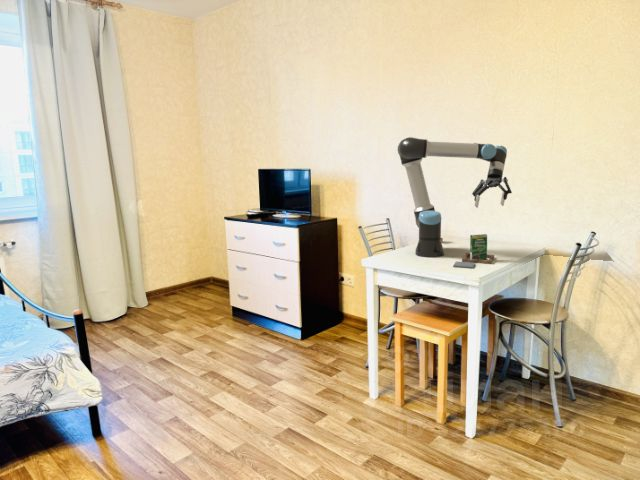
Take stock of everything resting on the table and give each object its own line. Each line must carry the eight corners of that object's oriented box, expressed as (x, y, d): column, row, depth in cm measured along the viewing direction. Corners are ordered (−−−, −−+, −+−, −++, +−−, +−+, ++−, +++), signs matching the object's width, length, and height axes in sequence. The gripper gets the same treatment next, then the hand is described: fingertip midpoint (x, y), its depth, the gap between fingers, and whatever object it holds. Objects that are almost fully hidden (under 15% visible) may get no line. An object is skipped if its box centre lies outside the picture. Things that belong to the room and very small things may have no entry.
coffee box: (471, 260, 225) (472, 235, 222) (469, 259, 228) (470, 234, 225) (487, 260, 225) (488, 234, 222) (485, 259, 228) (486, 234, 225)
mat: (453, 267, 213) (453, 265, 213) (455, 263, 221) (456, 261, 221) (472, 268, 209) (472, 266, 209) (474, 264, 217) (474, 262, 217)
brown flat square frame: (461, 262, 223) (462, 259, 222) (465, 255, 236) (465, 253, 236) (491, 264, 217) (491, 261, 216) (493, 257, 230) (494, 254, 230)
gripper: (521, 173, 232) (515, 207, 225) (475, 178, 249) (468, 210, 242) (517, 164, 228) (510, 199, 220) (470, 170, 245) (463, 203, 237)
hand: (488, 205), depth 231 cm, fingers open, 13 cm apart
